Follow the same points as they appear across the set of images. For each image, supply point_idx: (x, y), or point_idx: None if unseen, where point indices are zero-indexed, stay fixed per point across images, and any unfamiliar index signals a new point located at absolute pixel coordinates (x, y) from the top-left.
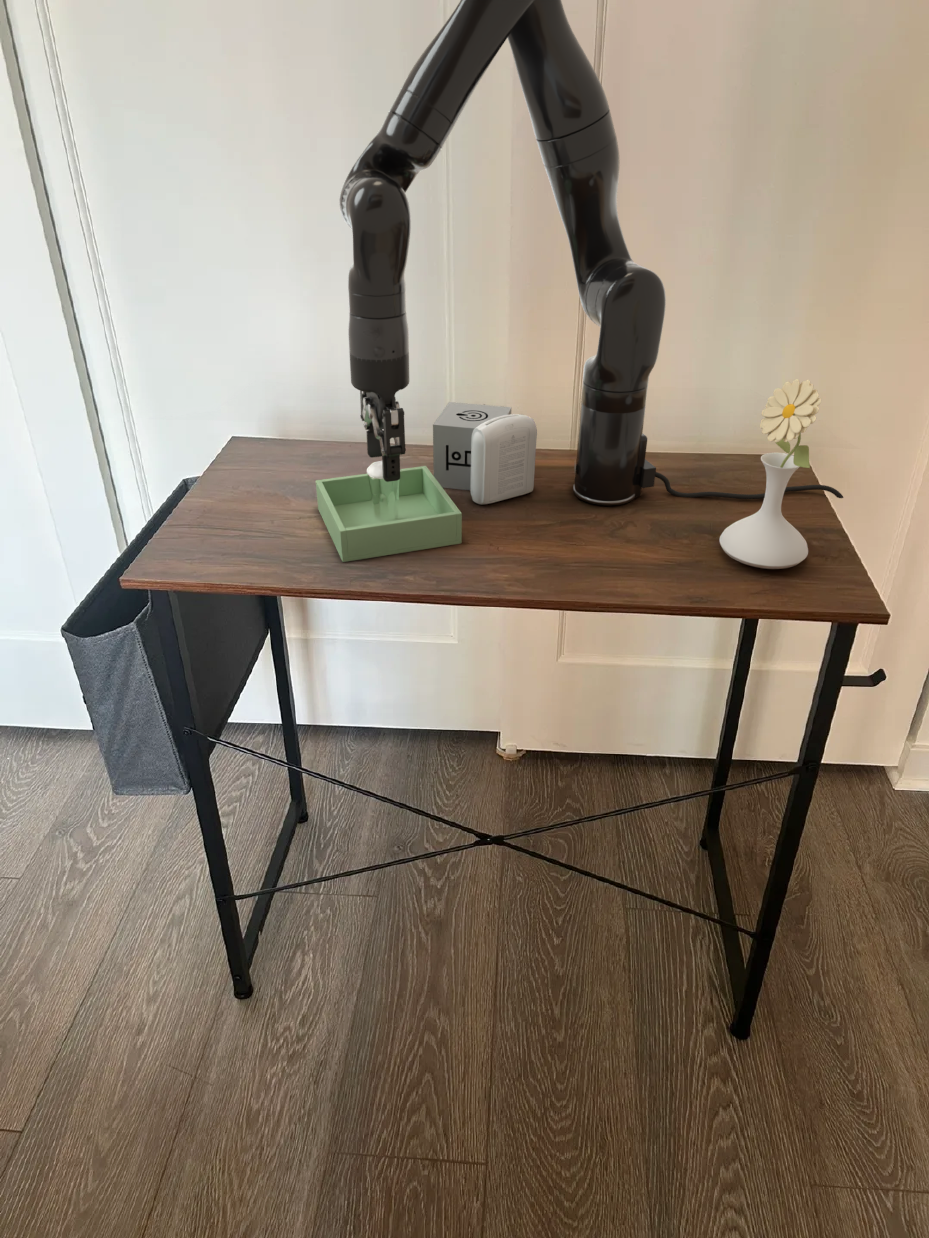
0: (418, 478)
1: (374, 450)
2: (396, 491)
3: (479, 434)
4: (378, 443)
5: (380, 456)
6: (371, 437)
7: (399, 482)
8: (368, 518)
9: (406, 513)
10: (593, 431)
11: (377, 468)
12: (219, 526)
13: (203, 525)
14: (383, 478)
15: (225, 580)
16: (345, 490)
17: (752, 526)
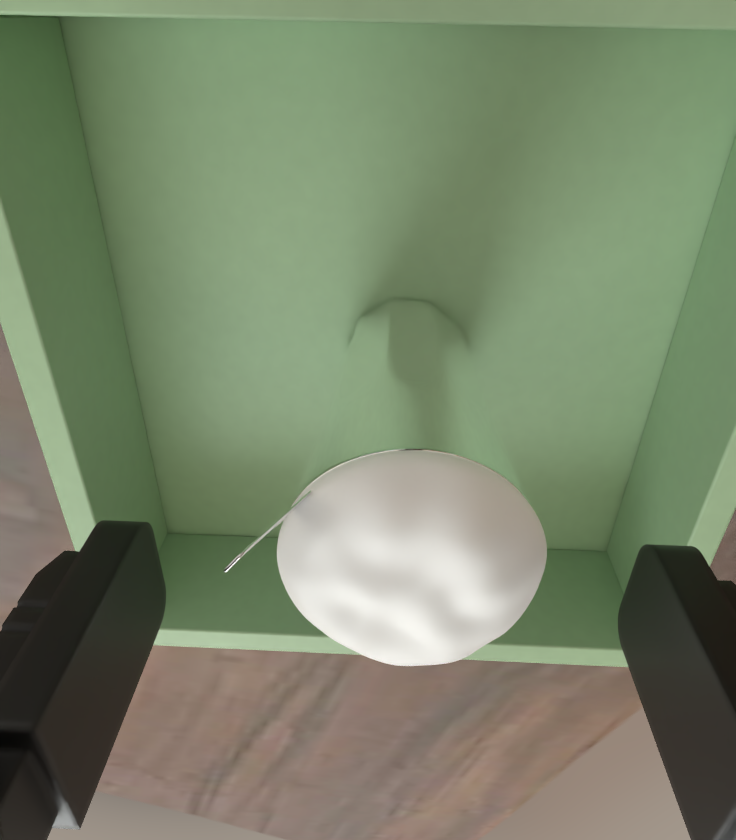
0: (5, 54)
1: (141, 616)
2: (493, 421)
3: None
4: (106, 640)
5: (152, 533)
6: (91, 747)
7: (460, 415)
8: (326, 409)
9: (329, 220)
10: None
11: (468, 649)
12: (224, 753)
13: (208, 775)
14: (623, 635)
15: (540, 778)
16: (127, 499)
17: None
